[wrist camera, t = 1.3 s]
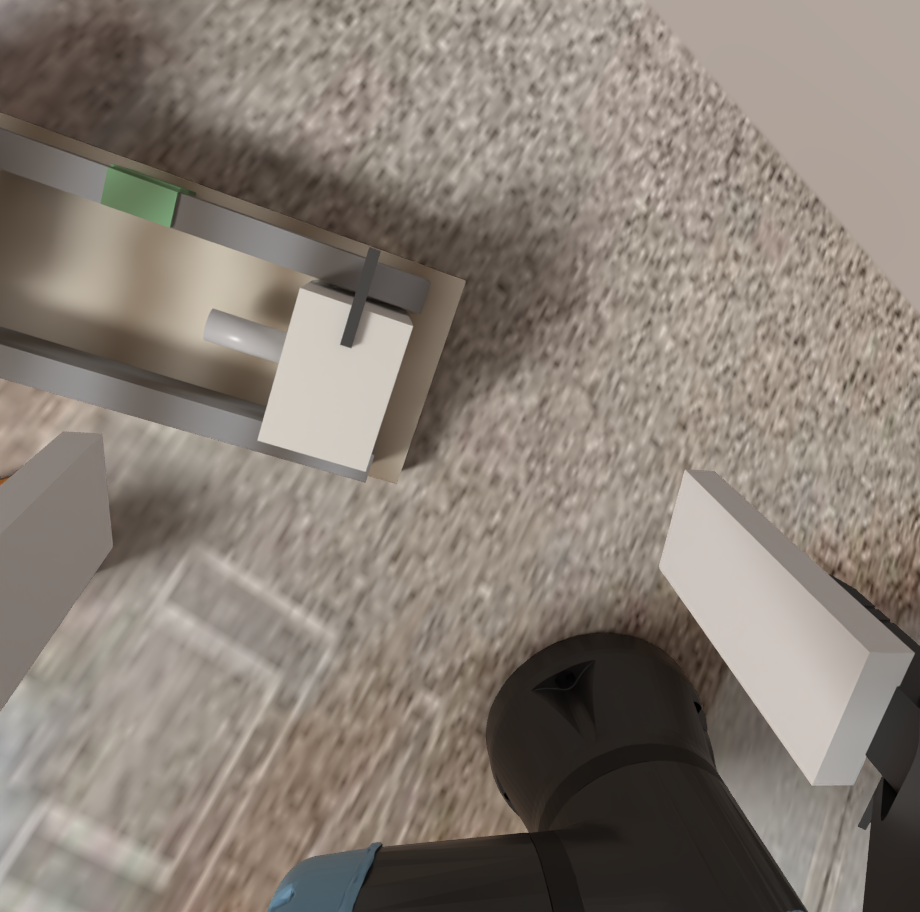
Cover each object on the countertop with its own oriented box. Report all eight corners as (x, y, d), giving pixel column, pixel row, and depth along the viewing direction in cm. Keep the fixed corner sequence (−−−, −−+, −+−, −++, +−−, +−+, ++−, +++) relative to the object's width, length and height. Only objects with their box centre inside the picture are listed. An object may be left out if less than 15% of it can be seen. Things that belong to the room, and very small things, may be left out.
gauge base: (461, 279, 38) (489, 291, 28) (395, 472, 41) (401, 542, 31) (-138, 62, 32) (-359, -15, 22) (-163, 309, 35) (-367, 334, 25)
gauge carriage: (421, 264, 35) (432, 270, 28) (367, 432, 37) (365, 474, 31) (249, 202, 33) (215, 192, 26) (203, 382, 36) (162, 416, 29)
